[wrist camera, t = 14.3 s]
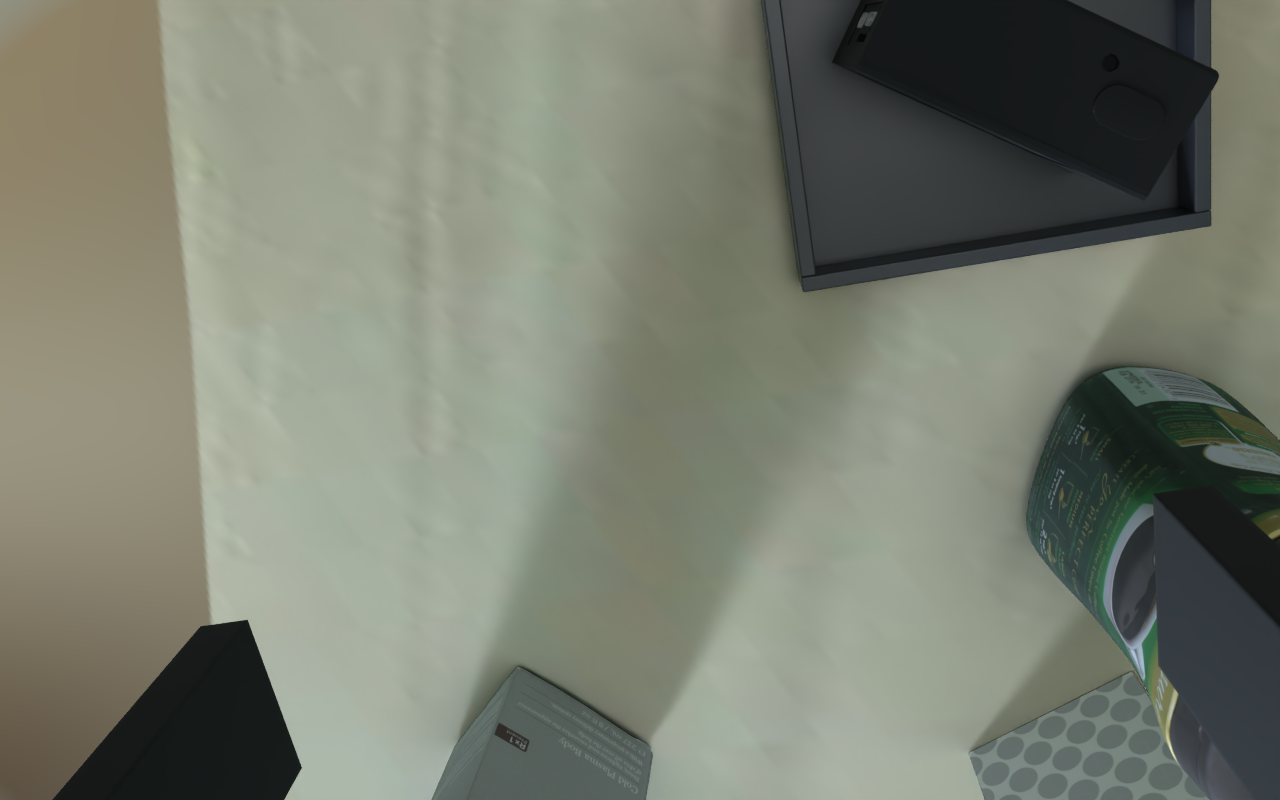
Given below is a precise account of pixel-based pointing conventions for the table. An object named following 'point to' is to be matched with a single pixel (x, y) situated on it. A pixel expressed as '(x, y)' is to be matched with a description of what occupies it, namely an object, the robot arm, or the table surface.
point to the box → (1087, 753)
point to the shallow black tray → (951, 161)
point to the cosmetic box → (543, 750)
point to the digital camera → (1037, 80)
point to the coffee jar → (1146, 515)
